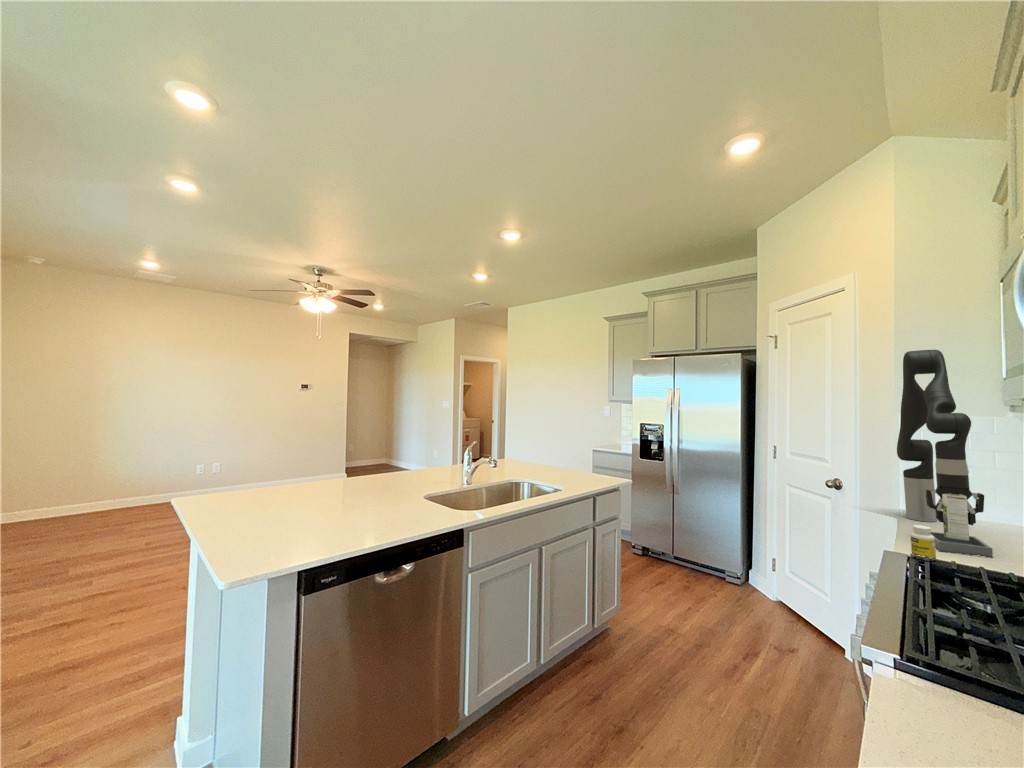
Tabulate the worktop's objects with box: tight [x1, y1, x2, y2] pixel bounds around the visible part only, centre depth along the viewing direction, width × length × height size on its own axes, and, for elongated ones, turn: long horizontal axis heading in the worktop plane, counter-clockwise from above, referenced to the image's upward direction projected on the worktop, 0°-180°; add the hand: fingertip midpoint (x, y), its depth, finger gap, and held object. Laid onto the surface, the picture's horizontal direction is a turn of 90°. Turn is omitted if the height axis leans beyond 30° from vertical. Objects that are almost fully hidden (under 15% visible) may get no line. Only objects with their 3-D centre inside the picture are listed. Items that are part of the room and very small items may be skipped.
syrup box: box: [942, 494, 970, 541], centre depth 139 cm, size 6×6×14 cm
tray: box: [930, 531, 994, 559], centre depth 139 cm, size 14×12×3 cm
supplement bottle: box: [910, 524, 937, 560], centre depth 130 cm, size 5×5×10 cm
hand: (955, 523), depth 139 cm, fingers closed on syrup box, 6 cm apart
